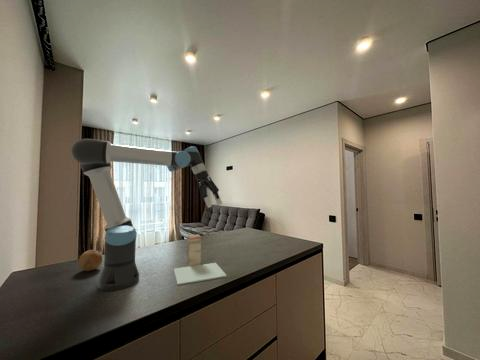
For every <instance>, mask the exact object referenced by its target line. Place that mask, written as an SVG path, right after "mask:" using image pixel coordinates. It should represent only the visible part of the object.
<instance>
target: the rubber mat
mask: <svg viewBox="0 0 480 360" xmlns="http://www.w3.org/2000/svg"><path fill="white" fill-rule="evenodd" d="M173 272H174V277H175V282H176V285H177V286H181V285H187V284H193V283H198V282H203V281H209V280H215V279H221V278H227V276H228V275H227V274H226V273H225V271H223V269H222V268H221V267H220V265H218V264H217V262H211V263H205V264H201V265H196V266H189V265H188V266H184V267H182V266H181V267H175V268H173Z"/></svg>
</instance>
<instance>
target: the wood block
mask: <svg viewBox="0 0 480 360" xmlns="http://www.w3.org/2000/svg"><path fill="white" fill-rule="evenodd" d="M201 252H202V236H201V235H200V234H189V235H187V265H188V267H189V266H196V265H202V263H201V262H202V261H201V260H202V255H201V254H202V253H201Z"/></svg>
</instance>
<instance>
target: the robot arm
mask: <svg viewBox="0 0 480 360" xmlns="http://www.w3.org/2000/svg"><path fill="white" fill-rule="evenodd" d="M71 155H72V158H73V159H74V160H75V161H76V162H77V163H79V166H80V168H81V170H82V174H83V175H85V176H87V177H88V178H89V179H90V183H91V186H92V189H93V192H94V193H95V197H96V198H97V201H98V205H99V208H100V211H101V212H102V215H103V218H104V221H105V223H106V224H105V226H104V228H103V229H104V231H105V232H104V233H105V235H104V258H103V259H104V260H103V262H104V263H103V269H102V272H101V274H100V276H99V279H98V282H97V283H98V285H97V287H98V289H99V290H100V291H105V292H109V291H110V292H113V291H119V290H124V289H126V288H127V289H128V288H129V287H132V286H134V285H135V284H137V283H138V282H139V280H140V273H139V269H138V266H137V264H136V248H137V247H136V245H137V244H136V243H137V229H136V228H135V227H134V225H133V222H132V219H131V218H129V217H127V216H126V213H125V210H124V208H123V204H122V202H121V199H120V197H119V193H118V191H117V188H116V185H115V183H114V180H113V177H112V174H111V172H110V171H111V169H112V164H111V162H113V163H125V164H141V165H152V166H154V165H155V166H165V167H167V169H168V171H169V172H171V173H172V172H176V171H178V170H181V169H183V168H186V167H189V166H190V169H191V171H192V173H193V174H194V177H195V179H196V181H197V182H198V181H199V182H198V183H197V185H198V189H199V192H200V197H201V198H202V199H203V200H204V202H205V204H206V207H207V208H211V207H213V204H212V203H211V200H210V198H209V195H208V192H207V190H210V192H211V193H212V196H213V198H214V200H215V202H216V204H217V206H220V205H221V204H223V202H222V200H221V197H220V195H219V191H220V189H219V188H218V186H217V185H216V184H215V182H214V181H213V180H212V177H211V176H209V173H208V171H207V170H206V165H205V163H204V161H203V160H202V159H203V158H202V156H201V155H200V152H199V150H198V148H197V147H196V146H188V147H187V148H185V149H184V150H179V151H173V150H164V149H158V148H157V149H156V148H148V147H147V148H146V147H138V146H130V145H122V144H112V142H111V141H108V140H101V139H94V138H81V139H78V140H76V141H75V142H74V143H73V145H72V147H71Z"/></svg>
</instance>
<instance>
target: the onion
mask: <svg viewBox="0 0 480 360" xmlns="http://www.w3.org/2000/svg"><path fill="white" fill-rule="evenodd" d="M77 262H78V263H77V264H78V267H79V268H80V270H82V271H84V272H91V271H94V270H96V269H98V268H99V267H100V266H101V264H102V262H103V256H102V253H101V252H100V251H99V250H96V249H88V250H86V251H83V253H82V254H81V255H80V256H79V258H78V261H77Z"/></svg>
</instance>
